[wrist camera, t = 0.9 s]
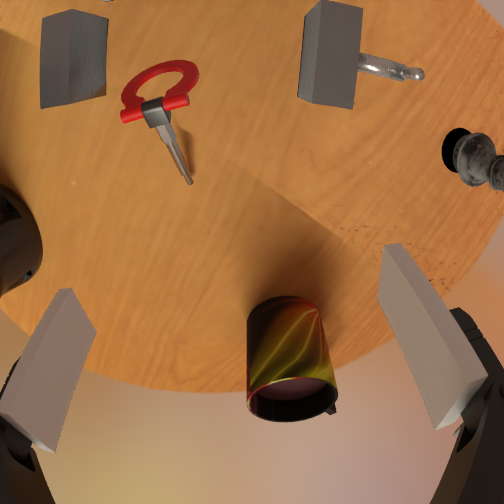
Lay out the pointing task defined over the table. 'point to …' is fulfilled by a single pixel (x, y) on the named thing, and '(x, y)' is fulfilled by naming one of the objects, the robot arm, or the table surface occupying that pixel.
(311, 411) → the mug
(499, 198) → the table surface
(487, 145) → the chess piece
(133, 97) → the tow hook
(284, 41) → the table surface
